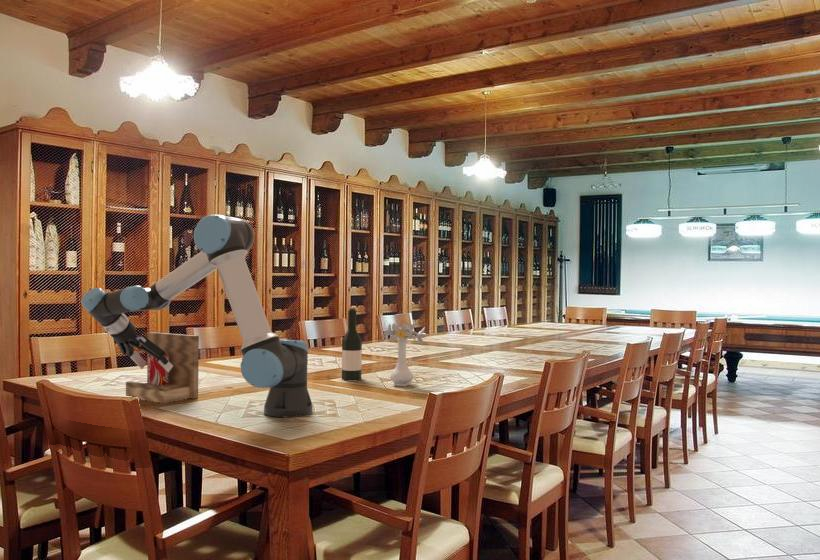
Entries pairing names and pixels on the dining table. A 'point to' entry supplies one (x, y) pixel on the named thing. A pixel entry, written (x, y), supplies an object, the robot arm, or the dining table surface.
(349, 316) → the wine bottle
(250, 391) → the dining table surface
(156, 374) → the soda can
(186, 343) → the cleat board
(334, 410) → the dining table surface
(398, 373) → the flower vase
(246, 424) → the dining table surface
